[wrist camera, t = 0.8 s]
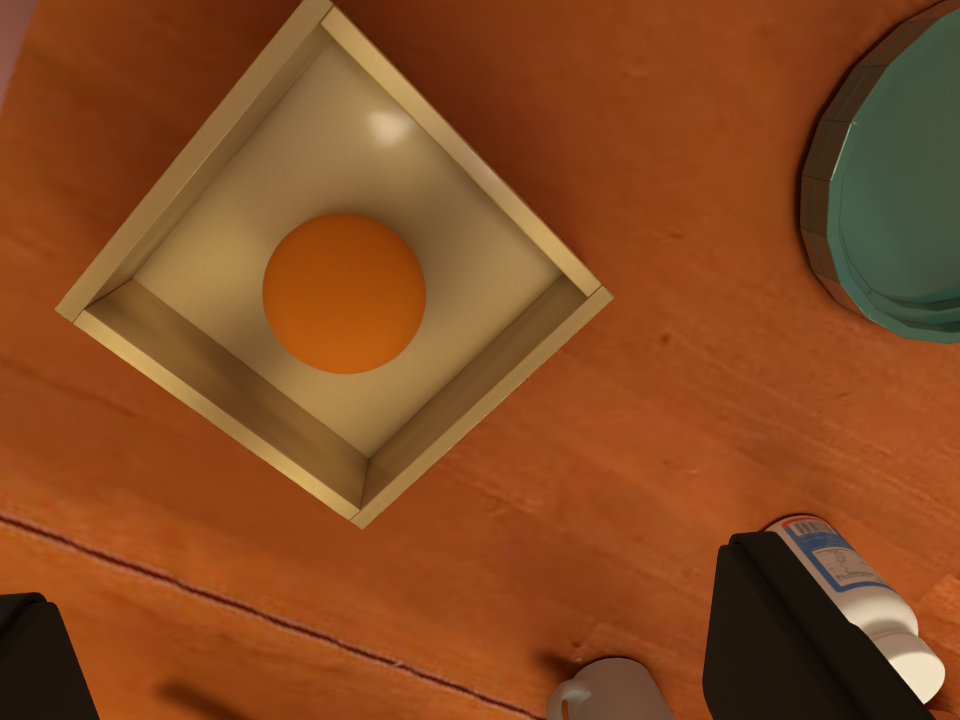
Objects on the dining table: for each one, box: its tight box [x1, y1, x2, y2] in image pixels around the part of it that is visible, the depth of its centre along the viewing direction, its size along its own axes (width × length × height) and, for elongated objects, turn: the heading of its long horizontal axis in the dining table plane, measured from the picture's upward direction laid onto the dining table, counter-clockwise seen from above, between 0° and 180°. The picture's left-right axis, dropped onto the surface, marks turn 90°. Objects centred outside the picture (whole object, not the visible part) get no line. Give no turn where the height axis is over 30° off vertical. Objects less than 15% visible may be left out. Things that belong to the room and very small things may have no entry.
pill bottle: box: [765, 515, 945, 704], centre depth 34 cm, size 6×5×10 cm
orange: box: [262, 213, 426, 374], centre depth 27 cm, size 7×7×7 cm
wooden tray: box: [54, 0, 614, 529], centre depth 28 cm, size 16×16×5 cm
